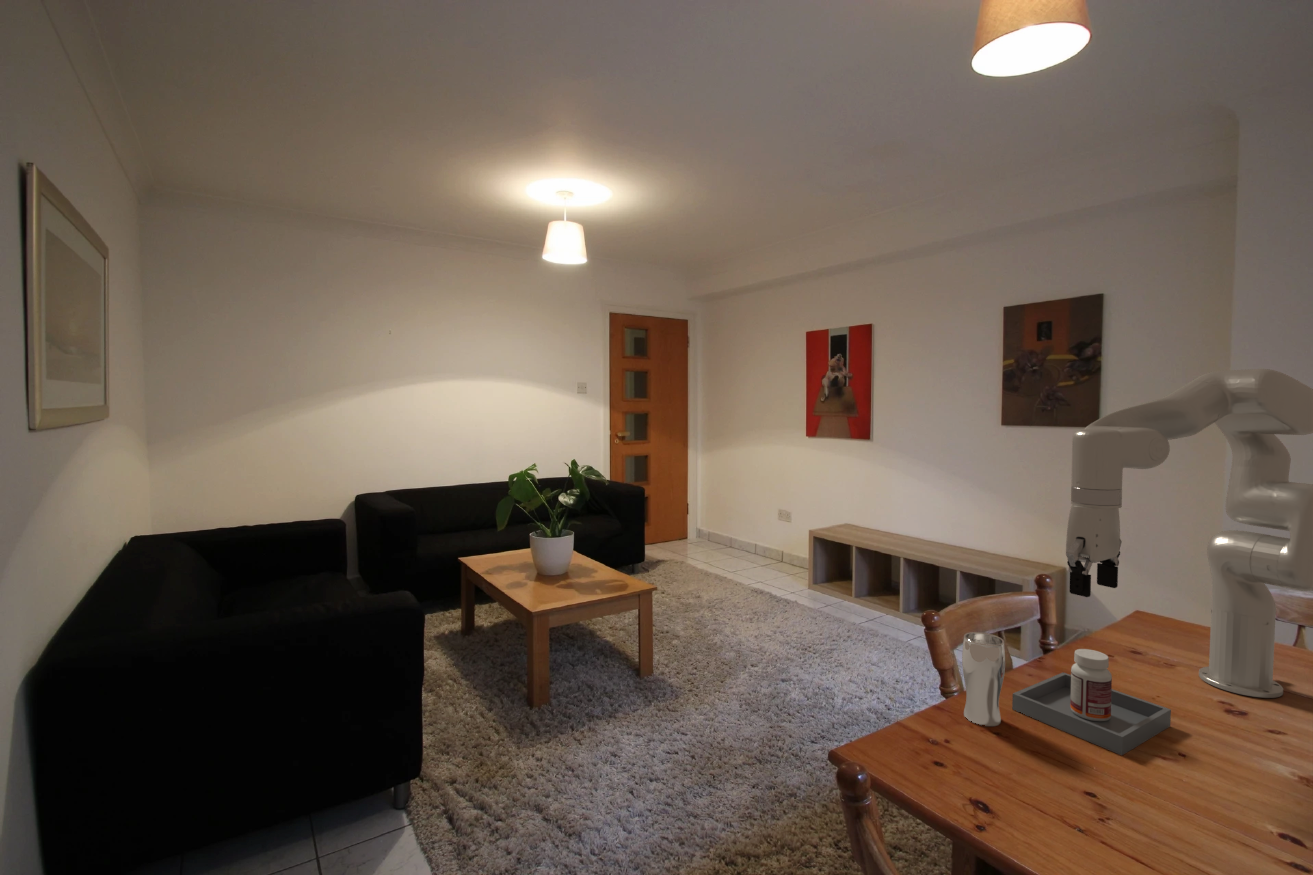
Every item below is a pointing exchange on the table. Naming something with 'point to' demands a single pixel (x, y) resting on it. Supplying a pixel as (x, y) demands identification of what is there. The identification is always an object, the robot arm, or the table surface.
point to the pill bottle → (1091, 685)
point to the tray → (1117, 734)
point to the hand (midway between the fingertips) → (1093, 590)
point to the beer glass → (983, 677)
